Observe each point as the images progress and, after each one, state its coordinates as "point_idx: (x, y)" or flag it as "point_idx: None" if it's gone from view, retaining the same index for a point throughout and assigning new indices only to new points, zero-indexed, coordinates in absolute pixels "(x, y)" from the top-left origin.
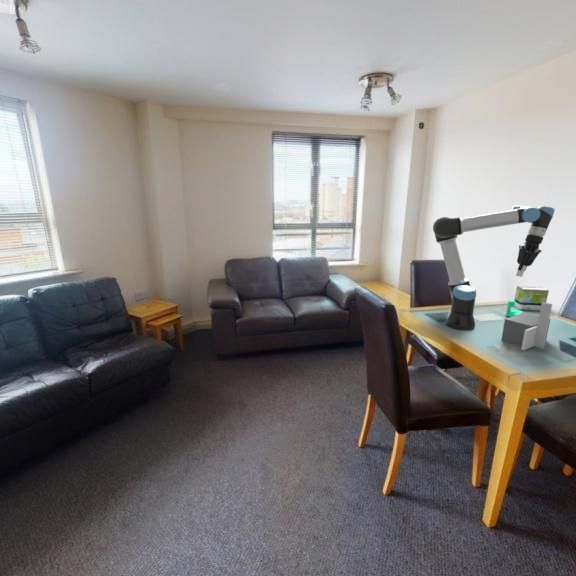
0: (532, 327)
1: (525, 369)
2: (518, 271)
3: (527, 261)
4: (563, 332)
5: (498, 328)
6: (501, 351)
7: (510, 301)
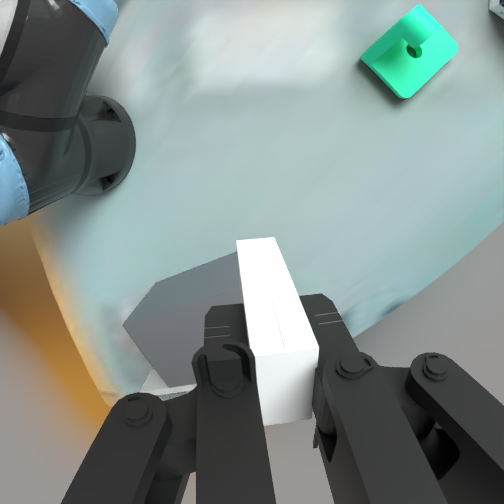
0: (171, 388)
1: (130, 392)
2: (241, 290)
3: (332, 489)
4: (429, 261)
5: (216, 183)
6: (122, 334)
7: (408, 25)
